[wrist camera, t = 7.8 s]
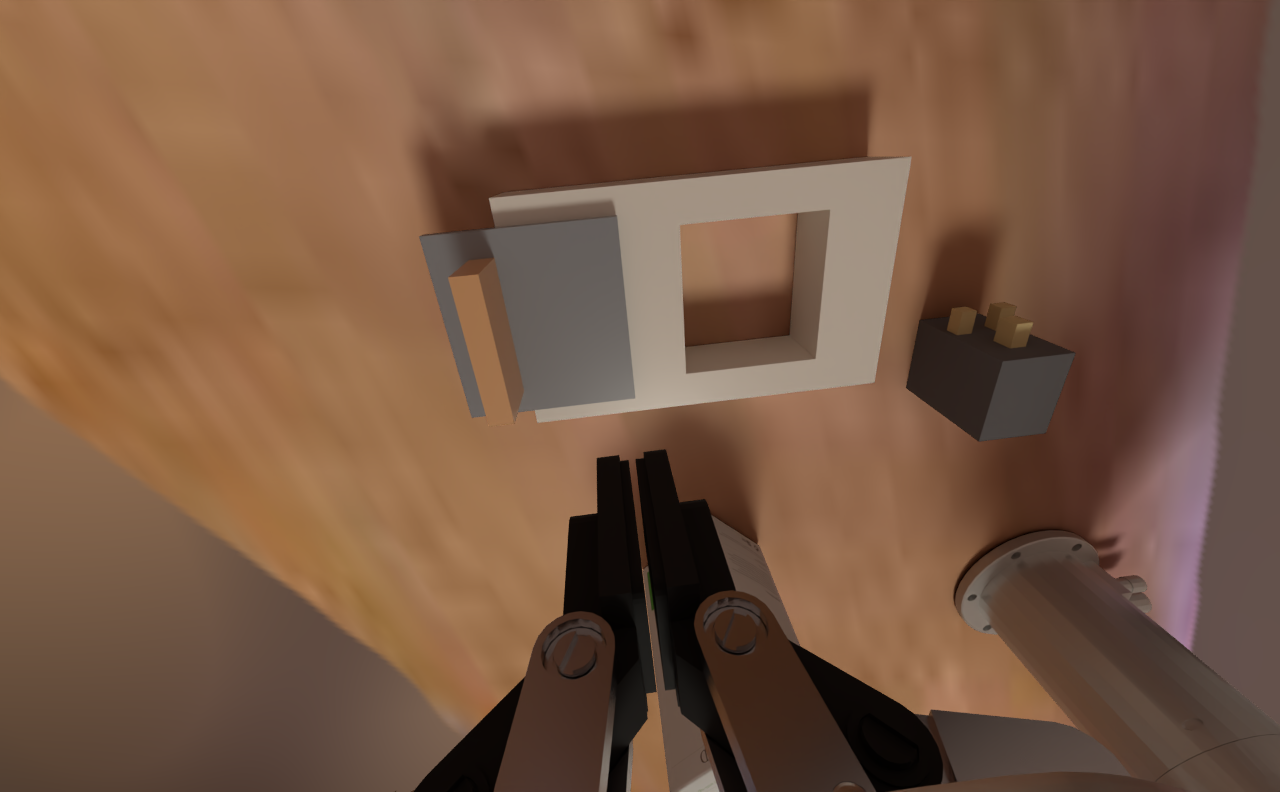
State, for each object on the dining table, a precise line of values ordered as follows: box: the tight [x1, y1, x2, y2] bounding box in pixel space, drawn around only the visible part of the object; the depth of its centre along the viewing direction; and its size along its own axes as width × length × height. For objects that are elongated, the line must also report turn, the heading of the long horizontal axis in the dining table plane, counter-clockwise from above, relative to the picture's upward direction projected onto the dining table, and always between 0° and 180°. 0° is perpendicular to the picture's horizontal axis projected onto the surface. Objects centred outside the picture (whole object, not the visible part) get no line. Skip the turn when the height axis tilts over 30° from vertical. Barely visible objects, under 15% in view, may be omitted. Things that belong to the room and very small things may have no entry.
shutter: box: [419, 215, 635, 427], centre depth 22 cm, size 9×10×4 cm
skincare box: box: [643, 515, 800, 792], centre depth 32 cm, size 8×7×16 cm
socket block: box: [489, 157, 911, 423], centre depth 26 cm, size 20×12×4 cm, turn 95°
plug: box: [906, 302, 1075, 441], centre depth 28 cm, size 4×6×7 cm, turn 5°
